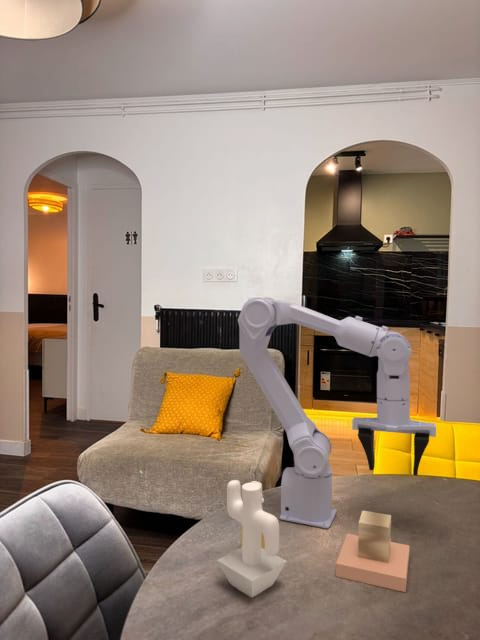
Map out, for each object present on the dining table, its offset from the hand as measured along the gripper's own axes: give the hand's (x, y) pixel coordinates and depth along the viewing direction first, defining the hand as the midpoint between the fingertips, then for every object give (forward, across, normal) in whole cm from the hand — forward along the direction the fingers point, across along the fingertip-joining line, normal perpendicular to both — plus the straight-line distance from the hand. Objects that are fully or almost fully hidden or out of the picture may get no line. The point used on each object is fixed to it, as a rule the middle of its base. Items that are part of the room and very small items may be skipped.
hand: (393, 471), depth 87 cm
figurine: (+10, -18, -27) cm, 34 cm away
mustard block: (+8, -22, -17) cm, 29 cm away
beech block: (+8, -2, -15) cm, 17 cm away
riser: (+10, -2, -15) cm, 18 cm away
